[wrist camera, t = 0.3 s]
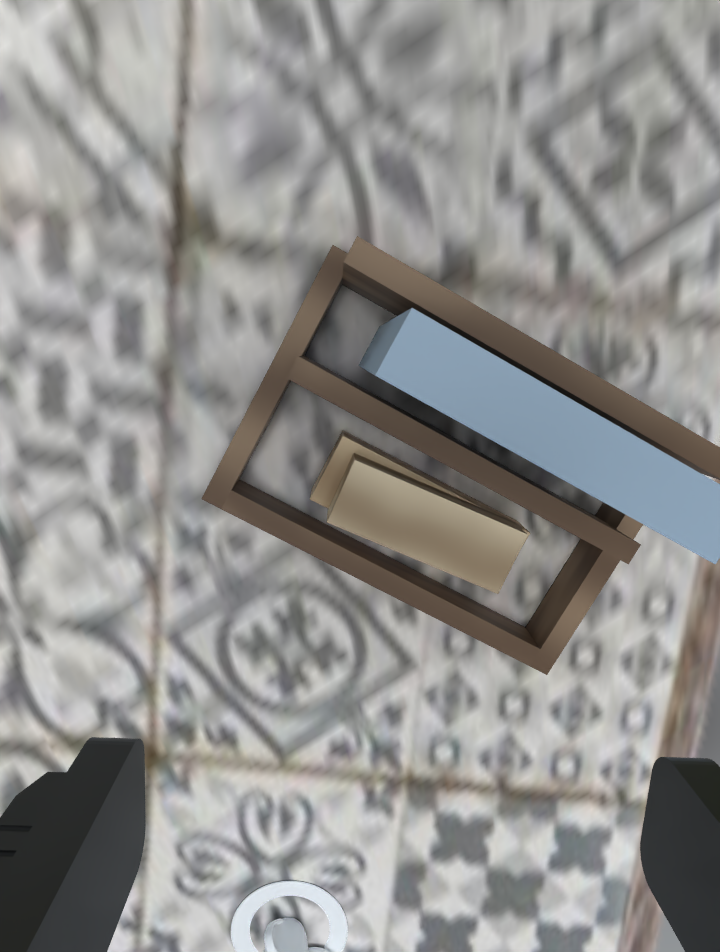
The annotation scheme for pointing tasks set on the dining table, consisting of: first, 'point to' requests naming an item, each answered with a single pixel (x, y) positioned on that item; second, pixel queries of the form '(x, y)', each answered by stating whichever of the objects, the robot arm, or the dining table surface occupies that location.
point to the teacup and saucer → (288, 920)
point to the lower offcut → (351, 444)
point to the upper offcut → (425, 523)
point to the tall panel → (547, 429)
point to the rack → (449, 457)
